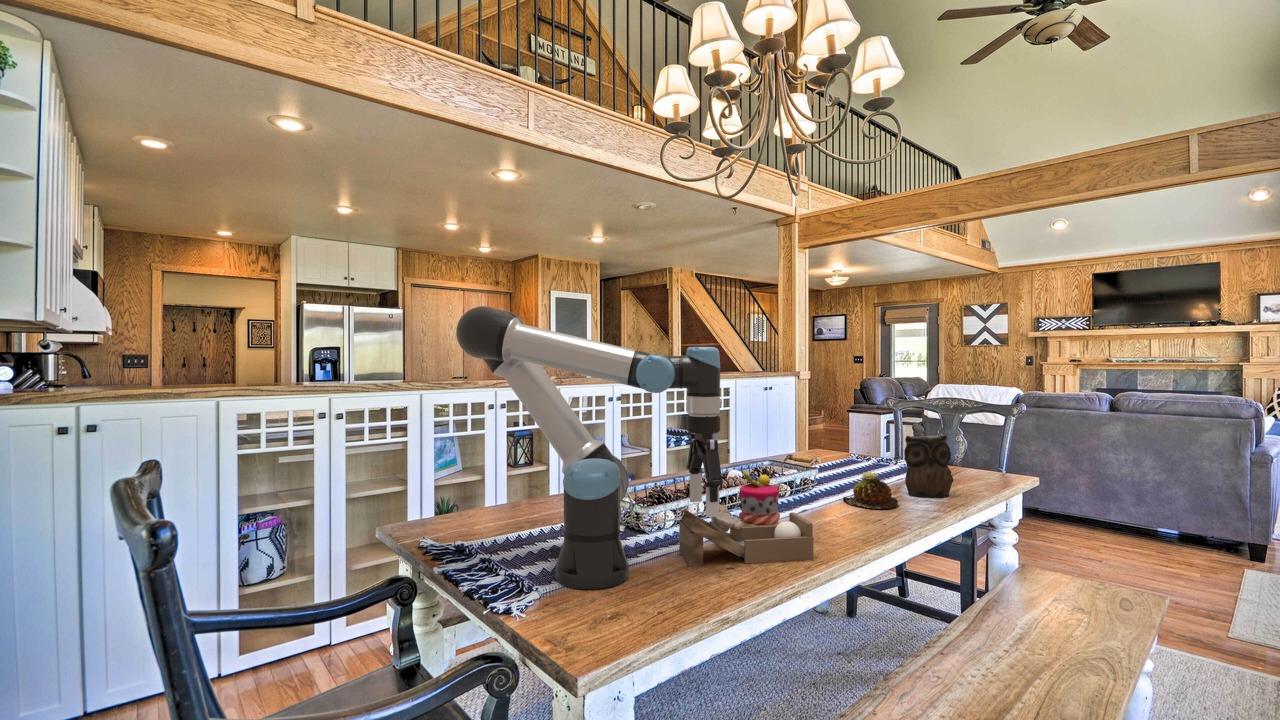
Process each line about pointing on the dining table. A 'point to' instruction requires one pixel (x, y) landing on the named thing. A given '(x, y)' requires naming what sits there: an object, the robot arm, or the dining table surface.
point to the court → (775, 542)
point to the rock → (726, 520)
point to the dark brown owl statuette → (927, 466)
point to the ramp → (693, 535)
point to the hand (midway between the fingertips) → (703, 508)
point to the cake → (759, 502)
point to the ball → (787, 530)
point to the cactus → (872, 493)
